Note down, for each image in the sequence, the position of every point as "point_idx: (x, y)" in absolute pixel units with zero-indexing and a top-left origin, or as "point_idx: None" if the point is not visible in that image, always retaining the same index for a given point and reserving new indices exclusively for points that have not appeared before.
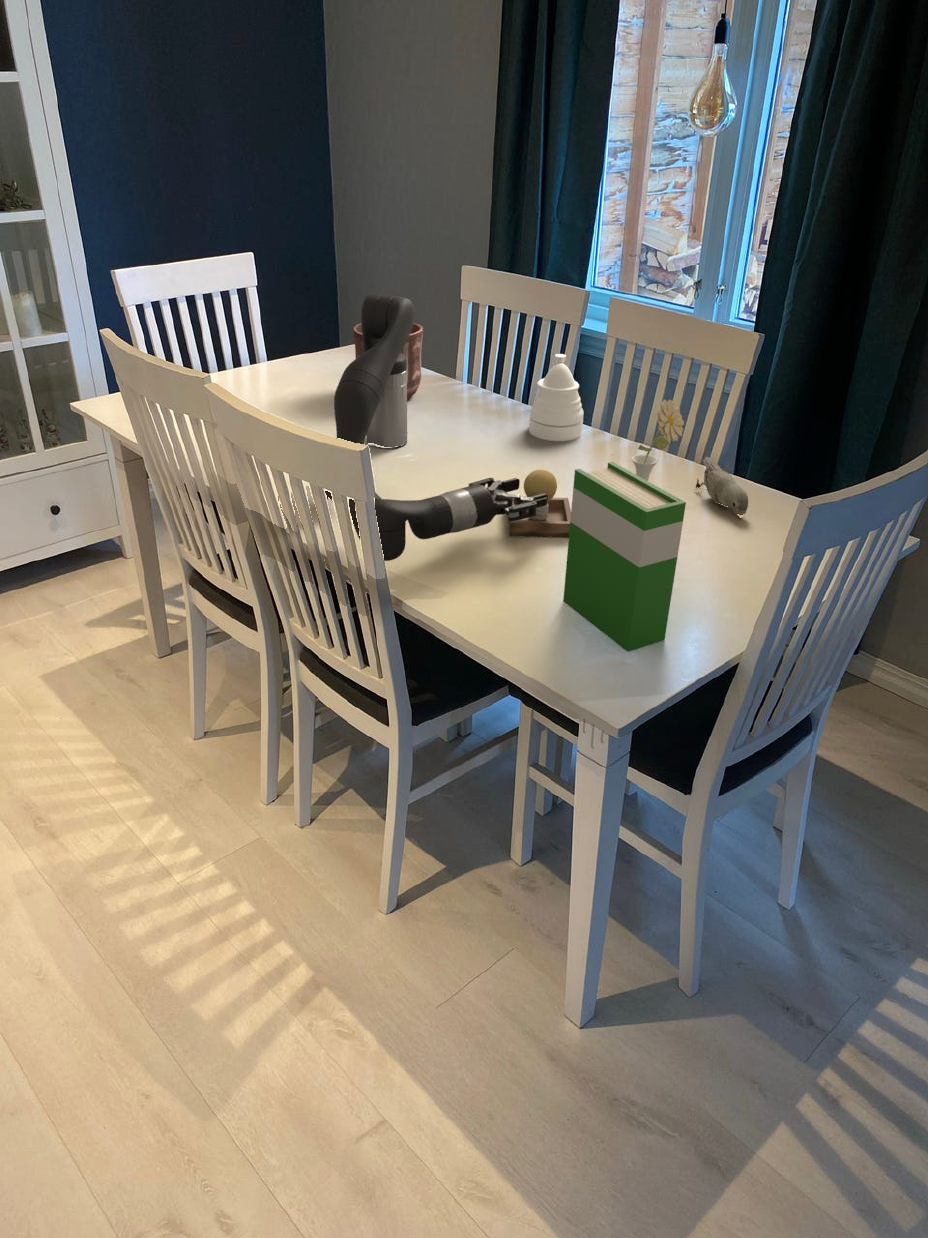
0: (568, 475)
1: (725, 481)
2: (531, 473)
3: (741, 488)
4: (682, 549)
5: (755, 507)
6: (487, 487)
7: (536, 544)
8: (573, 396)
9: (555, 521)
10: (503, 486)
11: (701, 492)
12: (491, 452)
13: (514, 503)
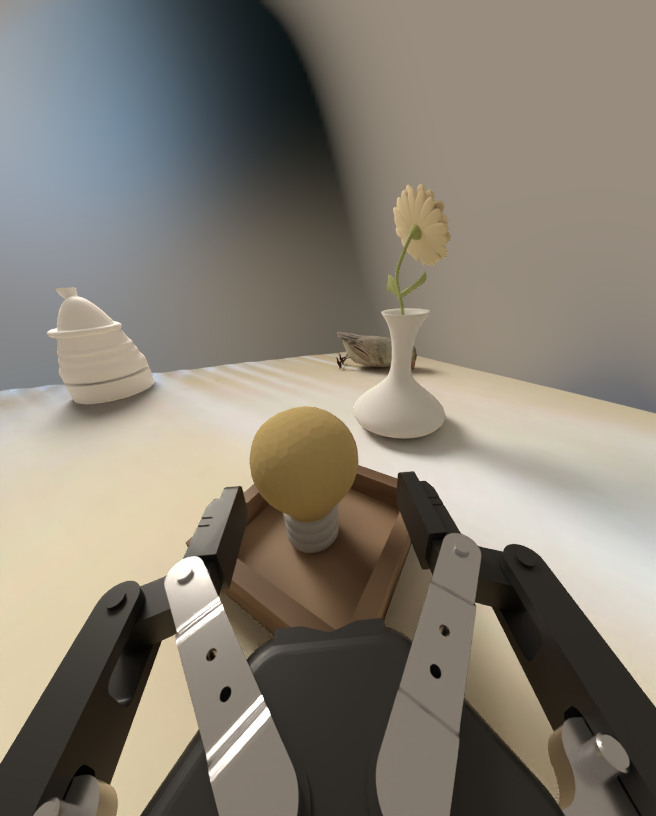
0: (207, 419)
1: (383, 340)
2: (279, 439)
3: None
4: (489, 415)
5: None
6: (122, 651)
7: None
8: (122, 335)
9: (400, 516)
10: (216, 571)
11: (344, 368)
12: (23, 457)
13: None
